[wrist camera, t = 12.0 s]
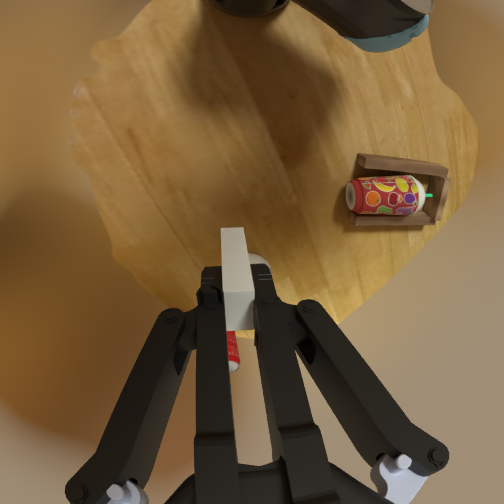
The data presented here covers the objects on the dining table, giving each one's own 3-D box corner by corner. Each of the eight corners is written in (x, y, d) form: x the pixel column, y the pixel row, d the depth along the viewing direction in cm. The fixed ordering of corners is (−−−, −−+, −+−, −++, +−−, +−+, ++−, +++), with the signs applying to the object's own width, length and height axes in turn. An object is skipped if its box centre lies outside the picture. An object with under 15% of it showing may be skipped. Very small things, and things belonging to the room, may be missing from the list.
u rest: (357, 153, 49) (369, 159, 45) (439, 164, 51) (452, 171, 47) (348, 218, 56) (358, 229, 52) (426, 218, 59) (438, 228, 54)
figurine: (227, 260, 59) (228, 280, 53) (245, 239, 57) (248, 258, 51) (257, 277, 62) (261, 297, 56) (275, 258, 60) (281, 277, 54)
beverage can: (207, 310, 66) (207, 361, 53) (234, 308, 66) (239, 359, 54) (210, 327, 69) (211, 376, 56) (236, 325, 70) (241, 374, 57)
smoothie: (340, 189, 55) (417, 188, 56) (349, 225, 52) (428, 221, 53) (350, 165, 48) (433, 168, 48) (362, 204, 45) (447, 202, 45)
